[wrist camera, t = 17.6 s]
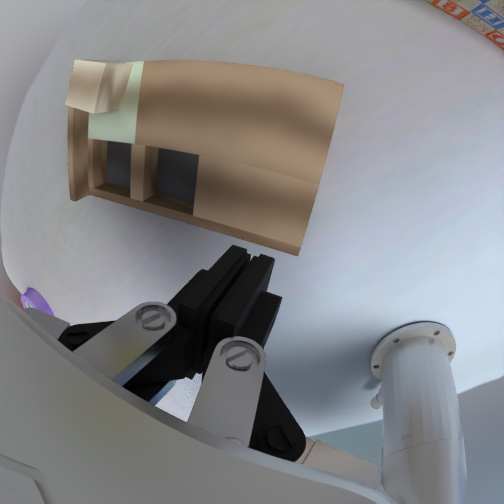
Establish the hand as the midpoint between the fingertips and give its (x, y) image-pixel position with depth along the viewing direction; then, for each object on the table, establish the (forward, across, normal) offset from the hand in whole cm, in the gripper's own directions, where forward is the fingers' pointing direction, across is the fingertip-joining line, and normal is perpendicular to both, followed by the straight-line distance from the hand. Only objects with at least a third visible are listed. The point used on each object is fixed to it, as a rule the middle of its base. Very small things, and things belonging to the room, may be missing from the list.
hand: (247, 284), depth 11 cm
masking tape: (+17, +58, +44) cm, 75 cm away
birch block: (+13, +22, -8) cm, 27 cm away
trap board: (+17, +13, -2) cm, 21 cm away
